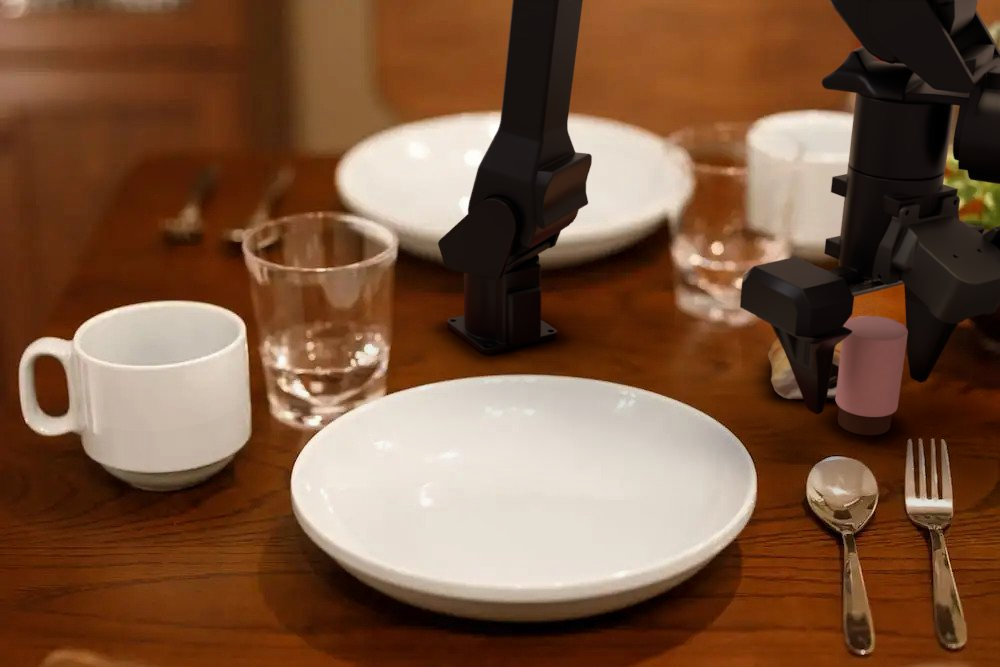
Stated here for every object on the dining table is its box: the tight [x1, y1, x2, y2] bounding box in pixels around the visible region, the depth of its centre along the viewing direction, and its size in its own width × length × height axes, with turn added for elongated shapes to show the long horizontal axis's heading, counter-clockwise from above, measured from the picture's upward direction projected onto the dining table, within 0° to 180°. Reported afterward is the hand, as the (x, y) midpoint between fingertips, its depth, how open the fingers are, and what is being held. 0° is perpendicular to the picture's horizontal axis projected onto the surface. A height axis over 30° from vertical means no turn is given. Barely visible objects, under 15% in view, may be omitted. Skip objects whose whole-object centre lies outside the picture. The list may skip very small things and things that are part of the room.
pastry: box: [767, 336, 842, 401], centre depth 93 cm, size 9×7×4 cm
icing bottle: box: [835, 315, 908, 436], centre depth 86 cm, size 4×4×7 cm
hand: (867, 395), depth 86 cm, fingers open, 9 cm apart
